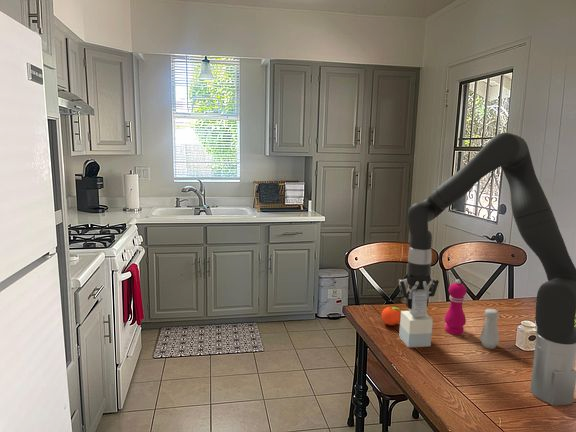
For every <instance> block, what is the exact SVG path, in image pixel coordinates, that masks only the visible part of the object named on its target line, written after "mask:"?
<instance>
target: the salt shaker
mask: <svg viewBox="0 0 576 432" xmlns="http://www.w3.org/2000/svg"><path fill="white" fill-rule="evenodd" d="M484 316H485V321H484V322H483V323H484V324H483V328H482V330H481V332H480V335H479V339H480V342H481V345H482V347H484V348H486V349H489V350H490V349H492V350H494V349H495V348H496V347H497V346H498V344H499V343H500V337H499V329H498V320H497V319H498V318H499V316H500V313H499V311H498V310H497V309H494V308H486V309H485V310H484Z"/></svg>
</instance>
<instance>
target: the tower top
mask: <svg viewBox="0 0 576 432" xmlns="http://www.w3.org/2000/svg"><path fill="white" fill-rule="evenodd" d="M433 321H434V319H433V318H432V317H431V316H429V315H428V313H426V316H413V314H412V313H411V312H410V310H400V320H399V322H400V323H399V326H400V325H401V326H402V327H403V328H404V329H405V330H406V331H407V332H408V333H409V334H427V333H433V325H434V324H433V323H434V322H433Z"/></svg>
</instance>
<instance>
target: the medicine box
mask: <svg viewBox="0 0 576 432" xmlns="http://www.w3.org/2000/svg"><path fill="white" fill-rule="evenodd" d="M407 286H409V284H407ZM411 289H412V288H411ZM406 308H407V309H408V311H410V312H411V313H412V314H413V316H426V314H428V313H427V308H428V307H427V292H426V291H425V290H424V289H418V290H416V291H413V294H412V309H409V308H408V307H407V306H406Z"/></svg>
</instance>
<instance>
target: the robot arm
mask: <svg viewBox="0 0 576 432" xmlns="http://www.w3.org/2000/svg"><path fill="white" fill-rule="evenodd" d="M499 168H501V169H502V172H503V174H504V175H505V178H506V180H507V183H508V187H509V193H510V205H511V212H512V216H513V218H514V222H515V224H516V228H517V230H518V232H519V234H520V237H521V238H522V240H523V241H524V242H525V244H526V245H527V246H528V247H529V249H530V250H531V251H532V252H533V253H534V254H535V256H536V257H537V258H538V260H539V261H540V263H541V265H542V267H543V269H544V273H545V275H546V278H547V281H545V282H543V283H542V284H541V285H540V286H539V288H538V290H537V294H536V298H535V299H536V302H535V304H536V305H535V316H534V317H535V318H534V319H535V325H536V336H535V345H534V354H533V362H532V369H531V370H532V371H531V378H530V379H531V380H530V388H529V389H530V392H531V394H532V395H534V397H536V398H537V399H539V400H541V401H543V402H545V403H548V404H550V405H551V406H563V405H564V406H565V405H573V404H574V397H575V391H576V390H575V389H576V369H575V364H576V327H575V322H576V266H575V264H574V262H573V260H572V258H571V256H570V253H569V251H568V248H567V247H566V246H567V245H566V242H565V241H564V238H563V234H561V231H560V228H559V225H558V223H557V222H558V221H557V220H556V217H555V215H554V212H553V210H552V207H551V206H550V202H549V201H548V198H547V195H546V194H545V191H544V190H543V188H542V187H543V186H542V185H541V183H540V182H539V179H538V178H537V175H536V171H535V168H534V165H533V161H532V156H531V153H530V149H529V146H528V143H527V142H526V140H525V139H524V138H522V137H521V136H519V135H517V134H514V133H511V132H501V133H498V134H496V135H494V136H493V137H492V138H491V139H490V140H489V141H488V142H487V143H485V144H484V146H483V147H481V148H480V150H479V151H478V152H477V153H476V154H475V155H474V156H473V157H472V158H471V159H470V160H469V161H468V162H467V163H466V164H464V166H463V167H461V168H460V169H459V170H458V171H457V172H455V173H454V174H453V175H452V176H450V177H449V178H448V179H446V180H445V181H444V182H443V183H441V184H440V185H438V186H437V187H436V188H434V190H433V191H432V192H431V194H430V195H429V196H428V197H426V199H424V200H422V201H419V202H415V203H413V204H411V206H410V207H409V209H408V212H407V224H408V230H409V246H408V247H409V248H408V253H407V254H408V255H407V270H406V271H407V274H406V275H407V276H406V277H405V278H404V279H401V278H399V279H398V280H397V282H398V287H399V291H400V295H401V297H403V298H405V306H406V308H407V307H408V308H409V309H412V294H413V291H416V290H418V289H424V290H425V291H426V292H427V308H428V306H429V299H430V298H431V297H434V296H435V295H436V291H437V289H438V285H439V281H440V280H438V279H437V278H434V277H431V271H432V257H433V256H432V243H433V242H432V241H433V234H432V232H431V231H430V230H429V224H428V223H429V222H431V221H433V220H435V219H436V218H437V217H439V215H441V214H442V213H443V212H444V211H445V210H446V209H447V208H449V207H451V206H452V205H454V203H456V202H458V201H459V200H460V199H461V198H463V197H464V196H465V195H466V194H467V193H468V192H470V190H471V189H472V188H473V187H474V186H475V185H476V184H477V183H478V182H479V181H480V180H482V178H483V177H485V176H487V175H489V174H490V173H492V172H493V171H495V170H497V169H499ZM429 284H430V286H429V288H428V285H429ZM408 285H409V286H408ZM406 286H408V287H407V290H406ZM411 288H412V289H411ZM408 308H407V309H408ZM409 309H408V310H409Z"/></svg>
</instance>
